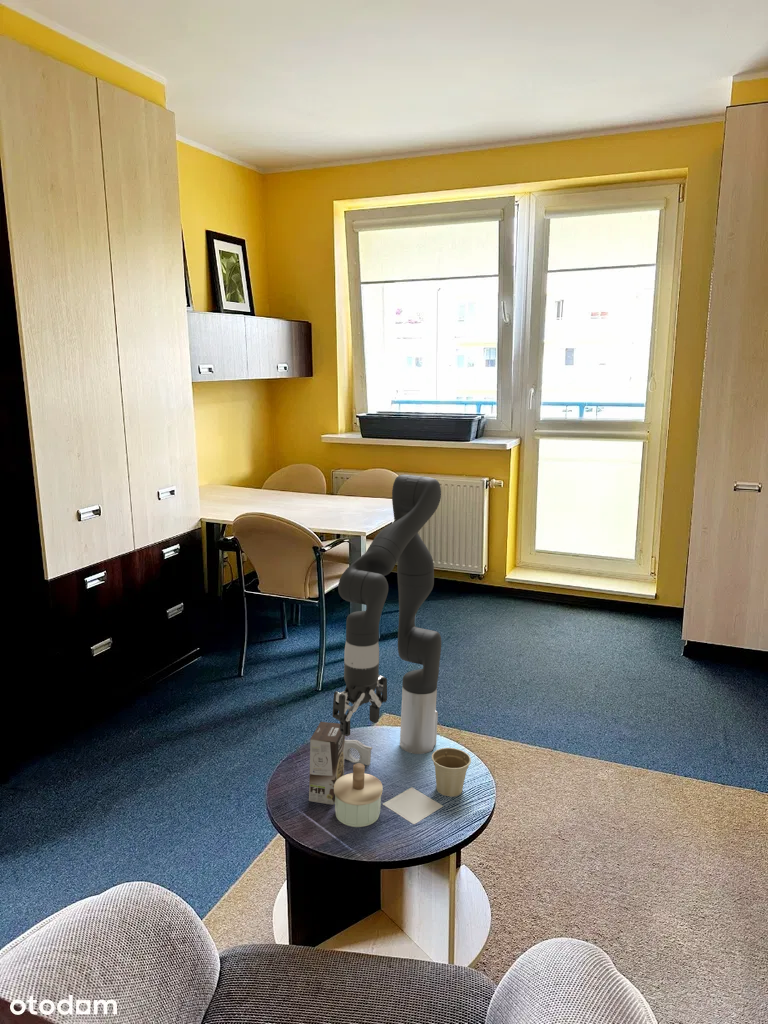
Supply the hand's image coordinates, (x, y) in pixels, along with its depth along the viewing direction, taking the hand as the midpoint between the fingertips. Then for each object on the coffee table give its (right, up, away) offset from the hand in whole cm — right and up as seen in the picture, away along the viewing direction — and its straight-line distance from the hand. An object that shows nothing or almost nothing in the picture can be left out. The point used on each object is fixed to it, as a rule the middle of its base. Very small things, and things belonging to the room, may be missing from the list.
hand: (360, 727), depth 154 cm
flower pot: (+21, -20, +15) cm, 33 cm away
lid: (-1, -15, +3) cm, 15 cm away
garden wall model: (-3, -17, +27) cm, 32 cm away
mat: (+12, -21, +8) cm, 25 cm away
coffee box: (-8, -19, +12) cm, 24 cm away
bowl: (-1, -21, +4) cm, 21 cm away
